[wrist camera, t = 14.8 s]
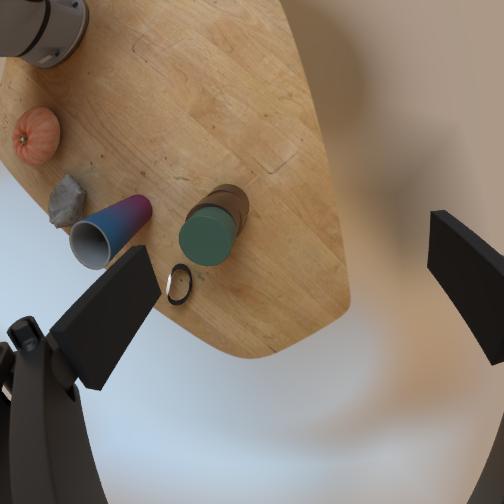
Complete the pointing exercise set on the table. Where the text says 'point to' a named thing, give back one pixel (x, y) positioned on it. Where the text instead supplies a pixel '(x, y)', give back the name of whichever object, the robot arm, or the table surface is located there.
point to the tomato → (36, 136)
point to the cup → (108, 231)
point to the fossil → (66, 203)
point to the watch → (178, 266)
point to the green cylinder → (208, 236)
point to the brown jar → (226, 204)
